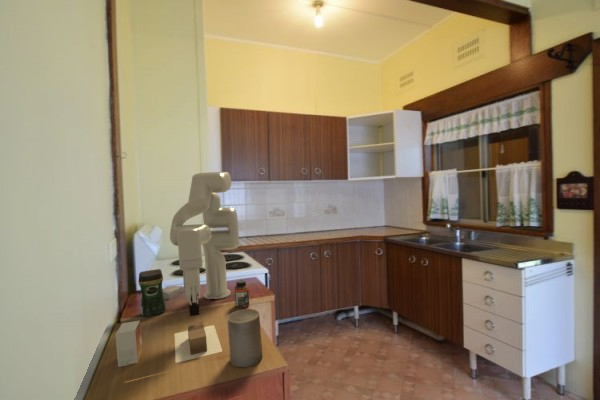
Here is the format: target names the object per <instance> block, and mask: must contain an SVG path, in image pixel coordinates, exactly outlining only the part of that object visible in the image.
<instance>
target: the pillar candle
mask: <svg viewBox="0 0 600 400" xmlns="http://www.w3.org/2000/svg"><path fill="white" fill-rule="evenodd" d="M226 319H227V331H228V344H229V346H228V347H229V357H230V359H229V360H230V364H231V365H233V366H234V367H240V368H249V367H253V366H255V365H256V364H259V362H260V361H262V358H263V344H262V343H263V342H262V330H261V320H260V312H259V311H258V310H257V309H253V308H241V309H237V310H235V311H233V312H231V313H230V314H229V315H228V316H227V317H226Z"/></svg>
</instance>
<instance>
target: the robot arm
mask: <svg viewBox="0 0 600 400" xmlns="http://www.w3.org/2000/svg"><path fill="white" fill-rule="evenodd" d="M190 183H191V184H190V189H189V195H188V200H187V202H186V203H185V204H184V205H182V206H181V207H180V208H179V210H177V211H176V212H175V214H174V215H173V217H172V220H171V225H170V231H169V240H170V242H171V244H172V245H174V246H176V247H177V246H178V248H177V249H178V250H177V251H178V258H179V259H178V263H179V270H180V271H182V279H183V292H184V293H183V294H184V299H185V300H189V301H188V302H189V303H188V310H189V316H190V317H196V316H199V315H200V314H201V313H200V303H199V298H200V297H201V276H200V269H201V268H202V267H203V256H204V265H205V266H204V267H205V280H206V281H205V282H206V283H205V284H206V292H204V293H203V298H204V299H206V300H210V299H215V300H220V299H224V298H227V297H229V296H230V295H231V290H230V289H228V283H227V282H228V281H227V279H228V278H227V267H226V266H227V265H226V257H225V256H224V254H223V253H222V252H221V251H224V250H225V251H227V250H236V249H237V248H238V247H239V244H240V235H239V223H238V222H239V220H238V219H239V218H238V212H237V210H236V209H235V208H234V207H229V206H228V207H222V205H221V197H220V195H219V194H218V193H227V192H228V191H229V190H230V189H231V187H232V177H231V175H230V173H229V172H227V171H218V172H217V171H216V172H215V171H214V172H213V171H212V172H211V171H210V172H199V173H194V175H192V177H191V182H190ZM200 214H202V218H203V221H202V222H203V224H202V223H201V224H199V223H198V224H185V223H187V221H189V220H190V219H192V218H194V217H196V216H199V215H200ZM223 228H227V229H223ZM211 229H216V230H211ZM202 249H203V251H202ZM203 253H204V254H203Z"/></svg>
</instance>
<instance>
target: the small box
mask: <svg viewBox="0 0 600 400" xmlns="http://www.w3.org/2000/svg"><path fill="white" fill-rule="evenodd" d="M114 335H115V348H116V359H117V367H118V368H121V367H126V366H130V365H133V364H138V363H139V361H140V359H141V355H142V353H143V343H142V342H143V340H142V328H141V320H134V321H129V322H123V323H121V324H120V326H119V328H118V329H117V331H116V332H115V334H114Z"/></svg>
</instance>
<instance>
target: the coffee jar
mask: <svg viewBox="0 0 600 400" xmlns="http://www.w3.org/2000/svg"><path fill="white" fill-rule="evenodd" d="M137 281H138V285H139V287H140V311H141V312H140V313H141V316H142V317H145V316H147V317H152V315H153V316H156V315H160V314H163V313H165V312H166V310H167V309H166V300H165V299H164V295H163V290H162V289H163V281H164V275H163V273H162V270H161V269H160V268H157V269H149V270H144V271H143V270H142V271H140V272H139V273H138V280H137Z"/></svg>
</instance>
